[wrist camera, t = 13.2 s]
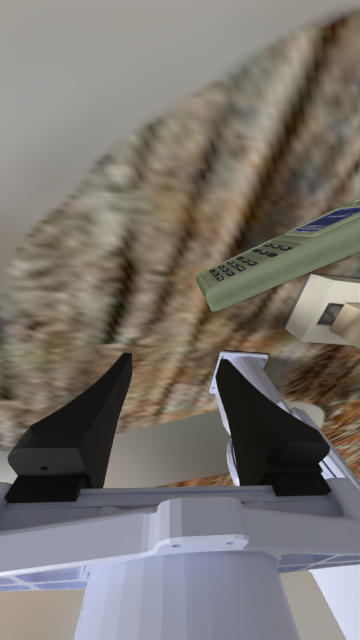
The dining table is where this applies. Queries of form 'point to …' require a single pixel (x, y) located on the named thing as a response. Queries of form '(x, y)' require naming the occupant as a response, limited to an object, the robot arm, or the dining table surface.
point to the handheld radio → (283, 258)
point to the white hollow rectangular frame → (320, 307)
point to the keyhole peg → (344, 321)
